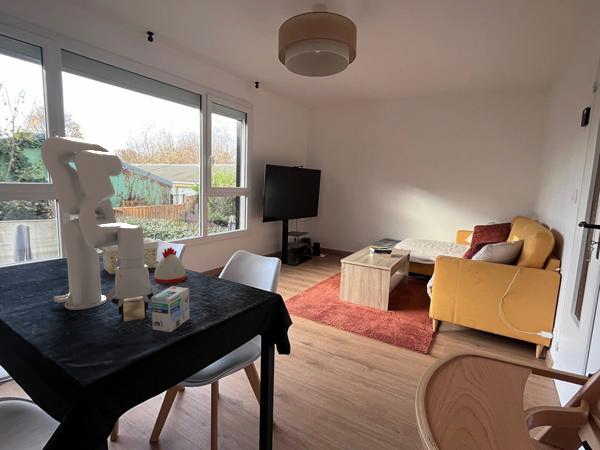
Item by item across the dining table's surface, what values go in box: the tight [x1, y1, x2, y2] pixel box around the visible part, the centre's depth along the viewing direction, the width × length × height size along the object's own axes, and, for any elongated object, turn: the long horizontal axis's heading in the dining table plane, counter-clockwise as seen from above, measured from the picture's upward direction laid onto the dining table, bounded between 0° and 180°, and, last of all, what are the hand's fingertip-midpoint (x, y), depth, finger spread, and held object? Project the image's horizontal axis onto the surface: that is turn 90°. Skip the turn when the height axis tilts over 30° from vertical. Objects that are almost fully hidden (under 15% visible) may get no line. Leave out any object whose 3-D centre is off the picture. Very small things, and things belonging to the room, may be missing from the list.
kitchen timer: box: [153, 247, 187, 284], centre depth 143 cm, size 14×14×15 cm
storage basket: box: [101, 237, 159, 275], centre depth 157 cm, size 24×16×15 cm
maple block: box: [123, 296, 146, 322], centre depth 102 cm, size 6×6×6 cm
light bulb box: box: [151, 285, 190, 333], centre depth 97 cm, size 11×7×11 cm, turn 168°
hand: (133, 313), depth 102 cm, fingers closed on maple block, 6 cm apart
